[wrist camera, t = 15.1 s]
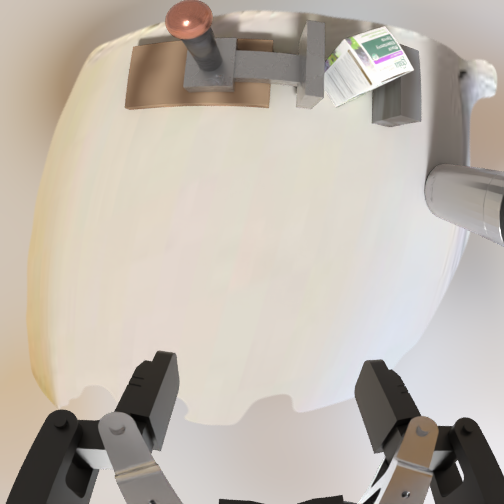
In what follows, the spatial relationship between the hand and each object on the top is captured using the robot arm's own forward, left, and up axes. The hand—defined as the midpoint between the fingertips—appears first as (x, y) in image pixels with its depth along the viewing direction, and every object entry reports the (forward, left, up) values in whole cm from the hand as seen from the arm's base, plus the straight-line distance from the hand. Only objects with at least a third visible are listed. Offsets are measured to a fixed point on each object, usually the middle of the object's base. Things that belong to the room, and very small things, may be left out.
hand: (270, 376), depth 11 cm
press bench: (+1, -21, -30) cm, 37 cm away
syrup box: (-10, -21, -30) cm, 38 cm away
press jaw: (+3, -21, -28) cm, 35 cm away
